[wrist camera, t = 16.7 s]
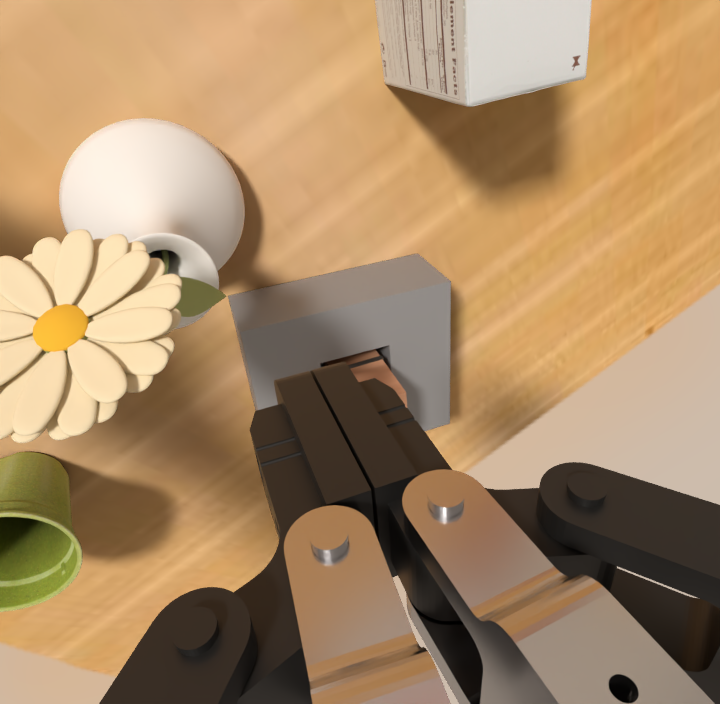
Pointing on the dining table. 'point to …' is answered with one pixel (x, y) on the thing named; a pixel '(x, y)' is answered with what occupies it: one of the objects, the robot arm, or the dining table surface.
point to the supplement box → (482, 46)
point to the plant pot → (35, 531)
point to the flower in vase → (114, 275)
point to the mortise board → (353, 329)
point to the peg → (371, 370)
